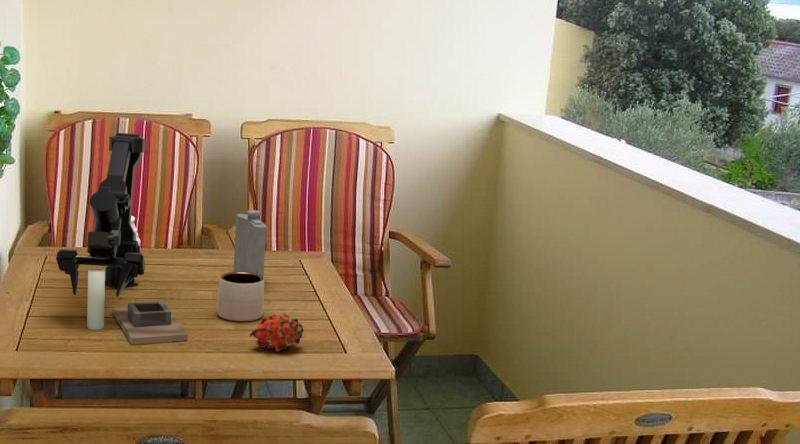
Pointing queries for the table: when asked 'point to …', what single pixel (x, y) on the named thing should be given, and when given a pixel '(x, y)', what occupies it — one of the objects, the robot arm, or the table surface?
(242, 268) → the hip flask
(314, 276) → the table surface
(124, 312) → the keeper
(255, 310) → the planter
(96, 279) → the pale green peg
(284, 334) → the dragon fruit
